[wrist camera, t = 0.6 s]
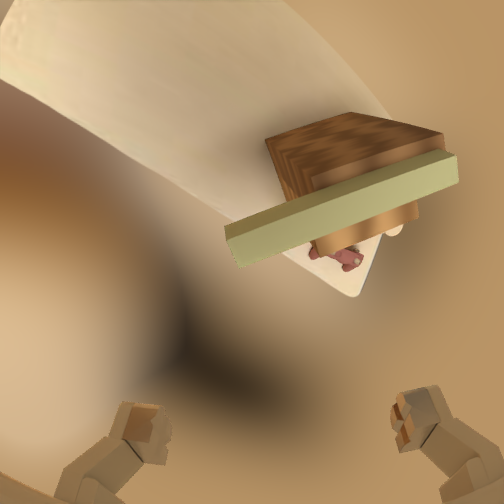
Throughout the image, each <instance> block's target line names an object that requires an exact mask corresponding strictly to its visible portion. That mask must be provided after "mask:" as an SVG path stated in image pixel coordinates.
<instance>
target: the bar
mask: <svg viewBox="0 0 504 504" xmlns="http://www.w3.org/2000/svg"><path fill="white" fill-rule="evenodd" d="M458 182H459V180H458V167H457V157H456V155H454V154H452V153H449V152H447V151H444V150H441V149H436V150H433V151H430V152H427V153H424V154H421V155H418V156H415V157H412V158H409V159H406V160H403V161H400V162H397V163H394V164H391V165H388V166H386V167H383V168H380V169H377V170H374V171H371V172H368V173H365V174H363V175H360V176H357V177H354V178H351V179H349V180H346V181H343V182H340V183H337V184H335V185H332V186H329V187H326V188H324V189H321V190H318V191H315V192H313V193H310V194H307V195H305V196H302V197H299V198H297V199H294V200H291V201H289V202H286V203H283V204H281V205H278V206H275V207H273V208H270V209H268V210H265V211H262V212H260V213H257V214H255V215H252V216H249V217H247V218H244V219H242V220H239V221H237V222H234V223H231V224H229V225H226V226H225V234H226V241H227V243H228V245H229V247H230V250H231V252H232V254H233V256H234V259H235V261H236V263H237V265H238V267H239V268H242V267H244V266H247V265H250V264H252V263H255V262H258V261H260V260H263V259H265V258H268V257H271V256H273V255H276V254H278V253H281V252H284V251H286V250H289V249H291V248H294V247H297V246H299V245H302V244H304V243H307V242H310V241H312V240H315V239H317V238H320V237H322V236H325V235H328V234H330V233H333V232H335V231H338V230H340V229H343V228H345V227H348V226H351V225H353V224H356V223H358V222H361V221H363V220H366V219H368V218H371V217H373V216H376V215H378V214H381V213H383V212H386V211H389V210H391V209H394V208H396V207H399V206H401V205H404V204H406V203H409V202H411V201H414V200H416V199H419V198H421V197H424V196H426V195H429V194H431V193H434V192H436V191H439V190H441V189H443V188H446V187H449V186H451V185H453V184H456V183H458Z"/></svg>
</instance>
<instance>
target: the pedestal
mask: <svg viewBox="0 0 504 504" xmlns="http://www.w3.org/2000/svg"><path fill="white" fill-rule="evenodd" d="M265 141H266V144H267V147H268V149H269V152H270V155H271V158H272V161H273V163H274V166H275V169H276V172H277V175H278V178H279V180H280V183H281V186H282V189H283V192H284V195H285V198H286V201H287V202H289V201H291V200H294V199H297V198H299V197H302V196H305V195H307V194H310V193H313V192H315V191H318V190H321V189H324V188H326V187H329V186H332V185H335V184H337V183H340V182H343V181H346V180H349V179H351V178H354V177H357V176H360V175H363V174H365V173H368V172H371V171H374V170H377V169H380V168H383V167H386V166H388V165H391V164H394V163H397V162H400V161H403V160H406V159H409V158H412V157H415V156H418V155H421V154H424V153H427V152H430V151H433V150H436V149H441V150H444V151H446V150H445V142H444V136H443V133H440V132H436V131H432V130H429V129H425V128H421V127H417V126H413V125H410V124H405V123H402V122H397V121H393V120H388V119H384V118H379V117H374V116H369V115H364V114H359V113H353V112H349V113H345V114H342V115H338V116H335V117H332V118H328V119H325V120H322V121H319V122H316V123H312V124H309V125H306V126H303V127H300V128H297V129H294V130H291V131H288V132H285V133H282V134H279V135H276V136H274V137H271V138H268V139H265ZM416 218H418V207H417V199H416V200H414V201H411V202H409V203H406V204H404V205H401V206H399V207H396V208H394V209H391V210H389V211H386V212H383V213H381V214H378V215H376V216H373V217H371V218H368V219H366V220H363V221H361V222H358V223H356V224H353V225H351V226H348V227H345V228H343V229H340V230H338V231H335V232H333V233H330V234H328V235H325V236H322V237H320V238H317V239H315V240H312V241H310V243H311V245H312V246H313V248H314V249H315V251H316V252H317V254H318V255H319V257H320V258H321V257H324V256H326V255H329V254H331V253H334V252H336V251H339V250H341V249H344V248H346V247H349V246H351V245H354V244H356V243H359V242H361V241H363V240H366V239H368V238H371V237H373V236H376V235H378V234H381V233H383V232H385V231H388V230H390V229H393V228H395V227H397V226H400V225H402V224H405V223H407V222H409V221H412V220H414V219H416Z"/></svg>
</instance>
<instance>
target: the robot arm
mask: <svg viewBox="0 0 504 504" xmlns="http://www.w3.org/2000/svg"><path fill="white" fill-rule="evenodd" d="M396 401H397V403H396V404H394V405H393V406H392V409H391V414H390V420H391V425H392V429H394V430H395V431H396V432H397V433H398V434H397V436H396V443H397V446H398V450H399V453H403V452H408V451H412V450H416V449H420V448H421V449H420V450H421V451H422V452H423V453H424V454H425V455H426V456H427V457H428V458H429V459H430V460H431V461H432V462H433V463H434V464H435V465H436V466H437V467H439V468H440V469H441V470H442V471H443V472H444V473H445V474H446V475H447V476H448V477H449V479H448V480H447V481H446V482H445V483H444V484H443V485H442V486H441V487H440V488H439V491H440V495H441V499H442V502H443V504H504V459H503V457H502V454H501V452H500V450H499V447H498V446H497V445H495V444H494V443H492V442H491V441H489V440H488V439H486V438H485V437H483V436H482V435H481V434H479V433H477V432H476V431H475V430H473V429H472V428H471V427H469V426H468V425H466V424H465V423H463V422H462V421H460V420H459V419H458V418H454V419H453V416H452V415H451V412H450V410H449V407H448V405H447V403H446V401H445V398H444V396H443V394H442V392H441V390H440V388H439V386H438V385H432V386H428V387H423V388H418V389H414V390H409V391H405V392H400V393H399V394H398V395H397V397H396ZM171 435H172V425H171V421H170V419H169V417H167V416H166V415H165V409H164V407H163V406H161V405H150V404H140V403H133V402H124V401H123V402H122V403H121V404H120V405H119V408H118V411H117V413H116V416H115V419H114V422H113V425H112V427H111V431H110V433H109V436H108V437H103V438H102V439H101V440H100V441H99V442H97V443H96V444H95V445H94V446H92V447H91V448H90V449H88V450H87V451H86V452H85V453H83V454H82V455H81V456H80V457H78V458H77V459H76V460H75V461H73V462H72V463H71V464H69V465H68V466H67V467H65V468H64V469H63V472H62V475H61V477H60V480H59V483H58V486H57V488H56V491H55V494H54V497H52V496H50V495H47V494H45V493H43V492H40V491H38V490H36V489H34V488H32V487H29V486H27V485H25V484H23V483H21V482H19V481H17V480H15V479H13V478H11V477H9V476H8V475H6V474H4V473H2V472H0V504H125V503H124V502H123V501H122V500H121V499H119V498H118V497H117V496H115V494H116V493H117V492H118V491H119V490H120V489H121V488H122V487H123V486H124V485H125V483H127V482H128V481H129V479H130V478H131V477H132V476H133V475H134V474H135V473H136V472H137V471H138V470H139V469H140V468H141V467H142V466H143V464H144V463H148V464H156V465H165V464H166V459H167V454H168V449H167V447H166V446H165V445H166V444H167V443H168V442H169V441H170V440H171Z"/></svg>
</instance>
